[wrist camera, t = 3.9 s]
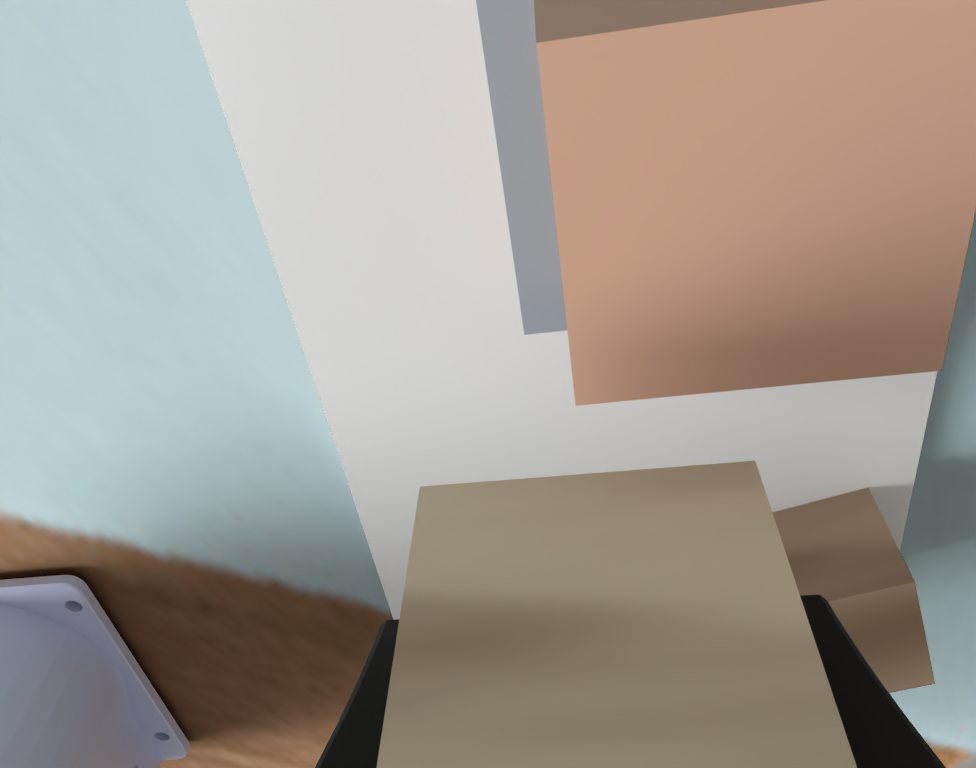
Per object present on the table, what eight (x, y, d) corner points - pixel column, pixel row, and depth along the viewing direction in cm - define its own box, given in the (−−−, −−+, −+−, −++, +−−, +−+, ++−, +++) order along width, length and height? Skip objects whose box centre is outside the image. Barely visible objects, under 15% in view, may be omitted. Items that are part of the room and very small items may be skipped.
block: (890, 586, 23) (935, 683, 20) (745, 620, 24) (770, 716, 21) (868, 487, 20) (914, 581, 18) (709, 528, 22) (733, 623, 19)
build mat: (879, 578, 24) (890, 601, 23) (401, 611, 25) (397, 634, 24) (1023, -173, 13) (1051, -171, 12) (191, -36, 15) (176, -28, 14)
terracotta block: (860, 257, 17) (941, 371, 14) (565, 290, 17) (575, 406, 14) (904, -75, 13) (1026, -29, 10) (532, -18, 14) (535, 42, 11)
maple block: (741, 667, 13) (820, 994, 10) (470, 680, 14) (449, 996, 10) (754, 460, 11) (868, 803, 7) (420, 486, 11) (368, 818, 8)
